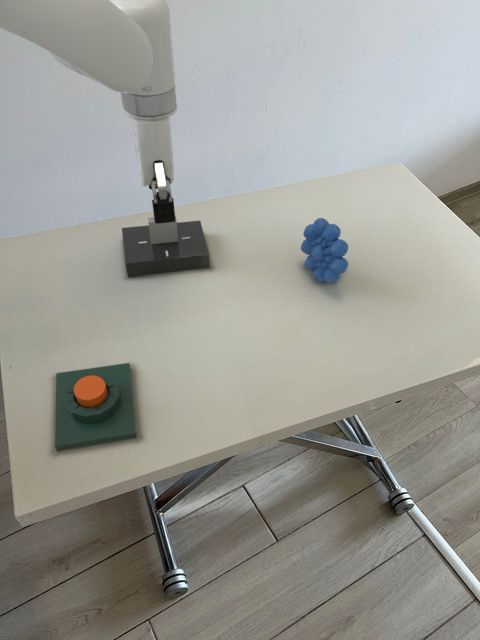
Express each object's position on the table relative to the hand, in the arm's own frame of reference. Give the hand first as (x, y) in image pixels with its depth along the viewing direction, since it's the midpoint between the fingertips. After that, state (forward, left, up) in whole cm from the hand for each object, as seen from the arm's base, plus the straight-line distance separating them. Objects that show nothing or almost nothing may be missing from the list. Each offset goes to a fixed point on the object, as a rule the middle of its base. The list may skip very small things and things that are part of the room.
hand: (161, 204), depth 87 cm
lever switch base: (0, 0, -10) cm, 10 cm away
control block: (-13, -31, -10) cm, 35 cm away
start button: (-13, -31, -8) cm, 35 cm away
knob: (0, 0, -7) cm, 7 cm away
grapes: (+26, -11, -10) cm, 30 cm away
